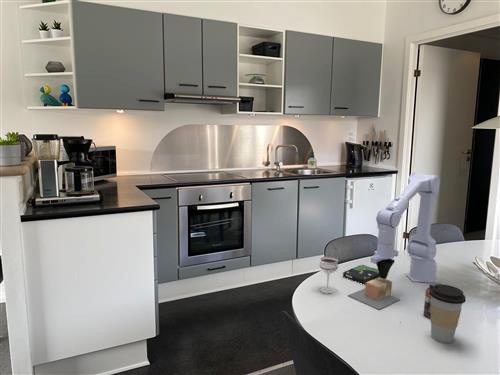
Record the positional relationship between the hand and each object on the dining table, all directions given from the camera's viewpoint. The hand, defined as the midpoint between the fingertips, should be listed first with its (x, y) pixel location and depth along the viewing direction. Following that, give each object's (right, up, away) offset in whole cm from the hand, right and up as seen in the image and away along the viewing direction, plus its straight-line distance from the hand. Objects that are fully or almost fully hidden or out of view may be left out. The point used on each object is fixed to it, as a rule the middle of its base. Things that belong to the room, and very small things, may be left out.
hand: (382, 277), depth 138 cm
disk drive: (-2, -4, +18) cm, 18 cm away
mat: (-4, -7, -2) cm, 8 cm away
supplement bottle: (+11, -9, -14) cm, 21 cm away
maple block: (+2, -3, +2) cm, 4 cm away
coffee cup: (+8, -11, -27) cm, 30 cm away
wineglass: (-20, -6, +3) cm, 21 cm away
